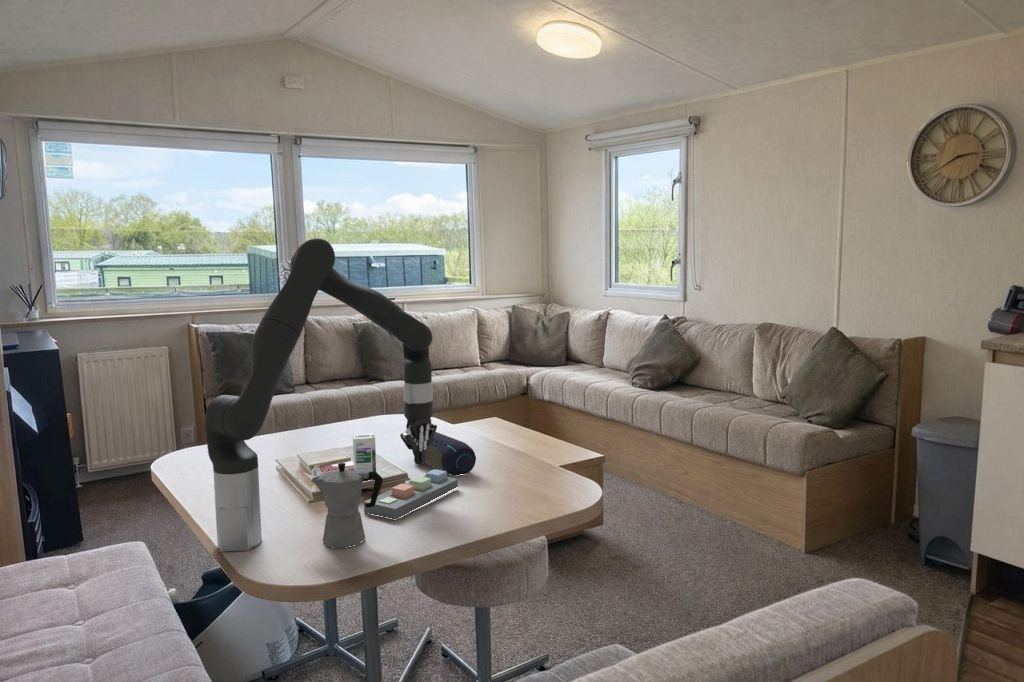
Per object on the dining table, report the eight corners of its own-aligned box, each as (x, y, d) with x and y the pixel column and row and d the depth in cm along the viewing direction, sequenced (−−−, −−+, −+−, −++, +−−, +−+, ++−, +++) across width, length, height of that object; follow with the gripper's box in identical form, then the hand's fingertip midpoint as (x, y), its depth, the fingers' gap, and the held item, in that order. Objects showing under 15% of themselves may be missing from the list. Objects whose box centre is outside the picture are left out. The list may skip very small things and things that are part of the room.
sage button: (421, 495, 186) (421, 482, 185) (409, 493, 188) (409, 480, 187) (431, 491, 189) (430, 478, 188) (419, 488, 191) (418, 476, 191)
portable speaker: (406, 461, 221) (406, 430, 220) (434, 456, 227) (434, 425, 226) (450, 482, 201) (450, 447, 200) (479, 475, 207) (479, 441, 206)
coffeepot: (312, 551, 155) (309, 471, 152) (315, 535, 164) (312, 458, 162) (384, 546, 158) (382, 466, 155) (383, 529, 167) (381, 454, 165)
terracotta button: (404, 503, 180) (403, 490, 179) (391, 501, 182) (391, 487, 181) (414, 499, 183) (414, 485, 183) (402, 496, 185) (401, 483, 185)
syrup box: (355, 491, 194) (353, 438, 192) (354, 484, 199) (352, 433, 198) (376, 489, 195) (375, 437, 193) (375, 482, 201) (373, 432, 199)
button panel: (395, 520, 172) (395, 507, 172) (364, 513, 177) (363, 500, 177) (458, 490, 194) (457, 478, 194) (428, 484, 199) (428, 472, 199)
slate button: (438, 488, 191) (437, 475, 191) (426, 485, 194) (425, 473, 193) (446, 483, 195) (446, 471, 194) (435, 481, 197) (434, 469, 196)
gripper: (422, 393, 193) (424, 455, 195) (390, 402, 181) (392, 468, 184) (445, 395, 189) (446, 459, 191) (413, 405, 178) (415, 472, 180)
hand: (419, 463), depth 187 cm, fingers closed
